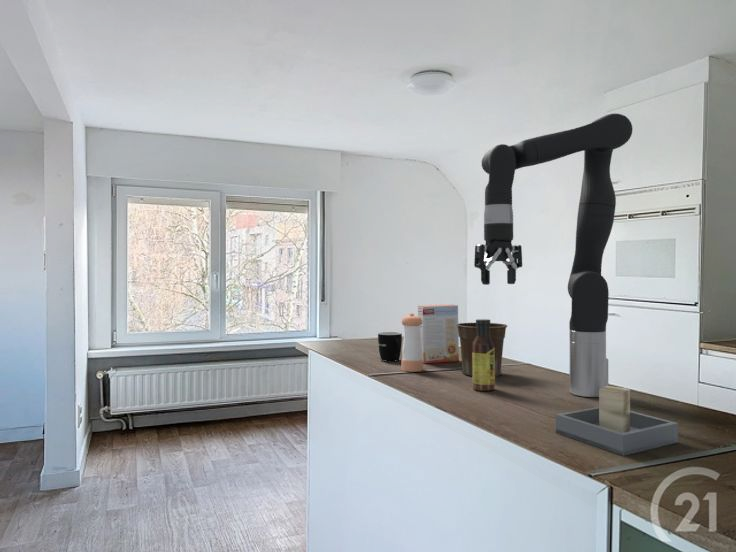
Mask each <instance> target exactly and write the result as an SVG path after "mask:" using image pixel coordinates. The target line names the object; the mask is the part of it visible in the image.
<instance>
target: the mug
mask: <svg viewBox="0 0 736 552" xmlns="http://www.w3.org/2000/svg"><path fill="white" fill-rule="evenodd" d="M377 344H378V352H379V357H380V360H381V359H382V360H386V361H385V362H389V361H391V362H396V361H395V360H398V361H399V360H400V358H401V351H402V346H403V334H402V332H398V331H382V332H378V333H377ZM382 360H381V361H382Z"/></svg>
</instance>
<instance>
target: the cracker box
mask: <svg viewBox="0 0 736 552" xmlns="http://www.w3.org/2000/svg"><path fill="white" fill-rule="evenodd" d="M417 316H418V317H420V318H421V319H422V324H421V325H420V341H421V347H422V360H423V364H435V363H451V362H452V363H455V362H459V361H460V355H459V353H460V350H459V349H460V347H459V345H460V337H459V334H458V327H457V326H456V324H459V305H458V304H453V303H452V304H428V305H427V304H424V305H417Z"/></svg>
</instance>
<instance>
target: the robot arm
mask: <svg viewBox="0 0 736 552" xmlns="http://www.w3.org/2000/svg"><path fill="white" fill-rule="evenodd" d="M632 134H633V124H632V122H631V120H630V119H629V118H628V117H627V116H625V115H623V114H621V113H610V114H606V115H604V116H602V117H599V118H597V119H595V120H593V121H592V122H591V123H587V124H585V125H581V126H578V127H575V128H571V129H567V130H563V131H557V132H554V133H553V132H552V133H549V134H543V135H540V136H536V137H531V138H528V139H524V140H522V141H520V142H517V143H516V144H512V145H508V144H504V143H503V144H502V143H501V144H497V145H495V146H493V147H492V148H490V149H489V150H488V151H486V152H485V153H484V154H483V156H482V159H481V167H482V169H483V171H484V172H485V173H486V174H487V175H488V182H487V184H486V185H485V189H484V212H483V240H484V241H485V244H475V246H474V262H473V263H474V266H473V267H474V268H478V269H479V270H480V281H481V284H482V285H485V286H486V285H488V286H489V285H490V284H491V273H490V272H491V270H490V268H491V267H492V265H494V263H495V262H502V263H503V264H504V265H505V266H506V268H507V271H506V273H507V276H506V277H507V279H506V280H507V281H506V282H507V283H506V284H508V285H514V284H515V283H516V281H517V269H519V268H523V252H522V251H523V250H522V245H520V244H515V245H513V244H512V241H513V240H514V209H513V184H514V179H515V175H516V174H515V173H516V170H518V169H519V170H520V169H522V168H525V167H527V168H528V167H532V166H537V165H540V164H545V163H548V162H551V161H554V160H558V159H560V158H561V159H562V158H564V157H566V156H569V155H573V154H576V153H580V152H583V151H584V154H583V157H584V158H583V159H584V160H583V171H582V172H583V173H582V174H583V175H582V181H581V189H580V197H579V202H578V208H577V217H576V229H575V230H576V231H575V247H574V248H575V250H574V256H573V262H572V267H571V270H570V271H571V272H570V275H569V279H568V282H567V291H568V292H567V293H568V296H569V297H570V298H571V312H570V314H571V315H570V319H569V323H568V324H569V393H570V394H572V395H575V396H579V397H587V398H599V389H601V388H603V387H605V386H609V359H608V358H607V323H608V319H609V299H610V298H609V296H610V295H609V294H610V293H609V285H608V282H607V280H606V279H605V277H604V276H603V275H602V265H603V255H604V253H605V250H606V246H607V244H608V241H609V238H610V236H611V233H612V229H613V227H614V220H615V214H616V213H615V212H616V206H617V205H616V203H617V198H616V191H615V189H614V186H613V182H612V178H611V162H612V155H613V152H614V150H616V149H618V148H621V147H622V146H624V145H625V144H626V143H627V142H628V141H630V139H631V137H632Z"/></svg>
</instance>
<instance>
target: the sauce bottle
mask: <svg viewBox="0 0 736 552" xmlns="http://www.w3.org/2000/svg"><path fill="white" fill-rule="evenodd" d="M475 323H476V326H477V332H476V334H477V336H476V338H475V339H474V341H473V352H472V370H473V376H472V388H473V390H475V391H481V392H489V391H490V392H491V391H494V390H495V384H496V376H495V347H494V344H493V342H492V339H491V336H490V323H491V319H489V318H479V319H476V320H475Z"/></svg>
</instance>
